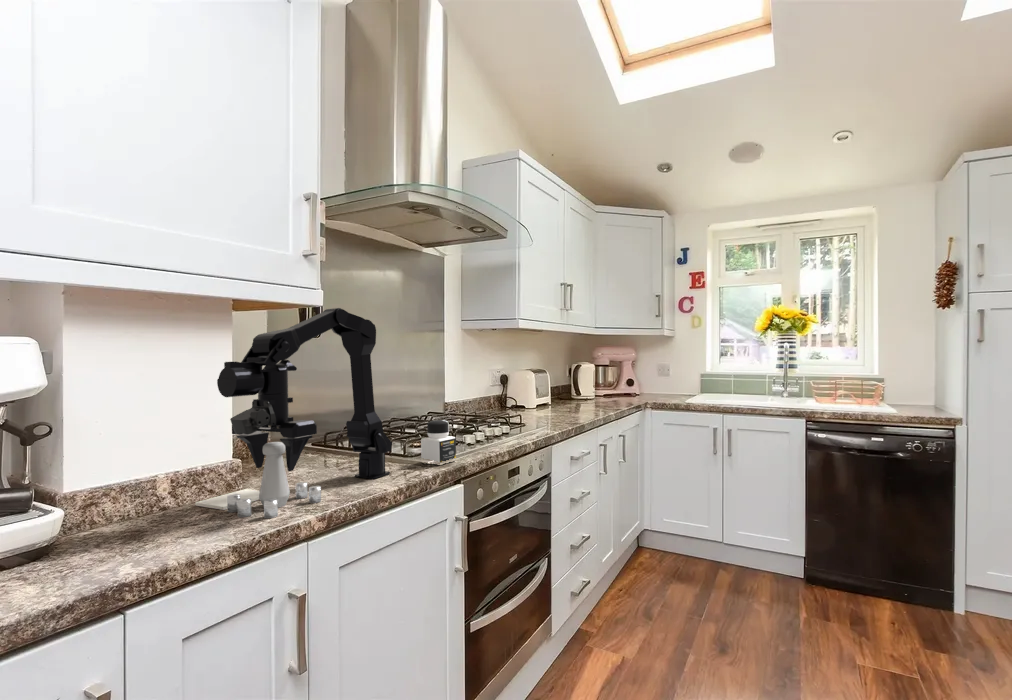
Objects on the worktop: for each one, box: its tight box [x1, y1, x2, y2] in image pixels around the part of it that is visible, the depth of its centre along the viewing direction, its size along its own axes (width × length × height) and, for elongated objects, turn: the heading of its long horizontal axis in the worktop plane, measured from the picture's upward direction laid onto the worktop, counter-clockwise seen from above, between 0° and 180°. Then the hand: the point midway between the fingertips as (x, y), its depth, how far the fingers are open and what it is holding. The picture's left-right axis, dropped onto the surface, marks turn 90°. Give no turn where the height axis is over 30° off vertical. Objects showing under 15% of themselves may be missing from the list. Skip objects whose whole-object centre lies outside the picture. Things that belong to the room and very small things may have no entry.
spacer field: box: [226, 481, 322, 519], centre depth 106 cm, size 16×13×3 cm
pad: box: [194, 488, 260, 511], centre depth 111 cm, size 12×9×1 cm
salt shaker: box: [259, 441, 291, 509], centre depth 106 cm, size 6×6×13 cm
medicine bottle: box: [420, 419, 457, 462], centre depth 147 cm, size 7×7×12 cm
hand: (274, 469), depth 106 cm, fingers open, 9 cm apart
